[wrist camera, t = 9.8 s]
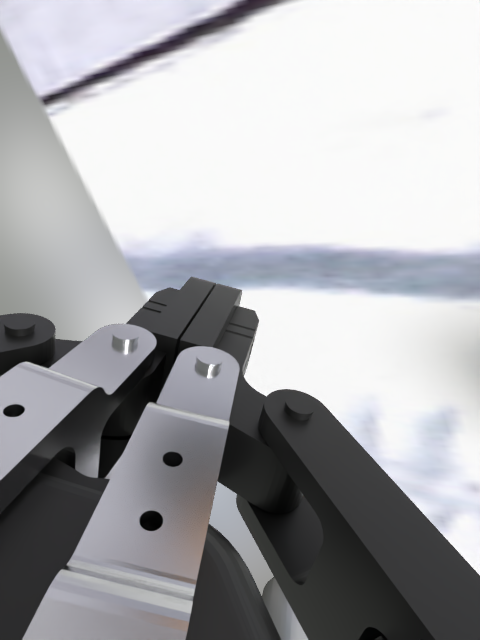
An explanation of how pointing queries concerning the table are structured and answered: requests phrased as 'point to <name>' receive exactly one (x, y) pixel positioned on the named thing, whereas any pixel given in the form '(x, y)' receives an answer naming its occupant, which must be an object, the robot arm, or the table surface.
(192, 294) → the robot arm
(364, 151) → the table surface
